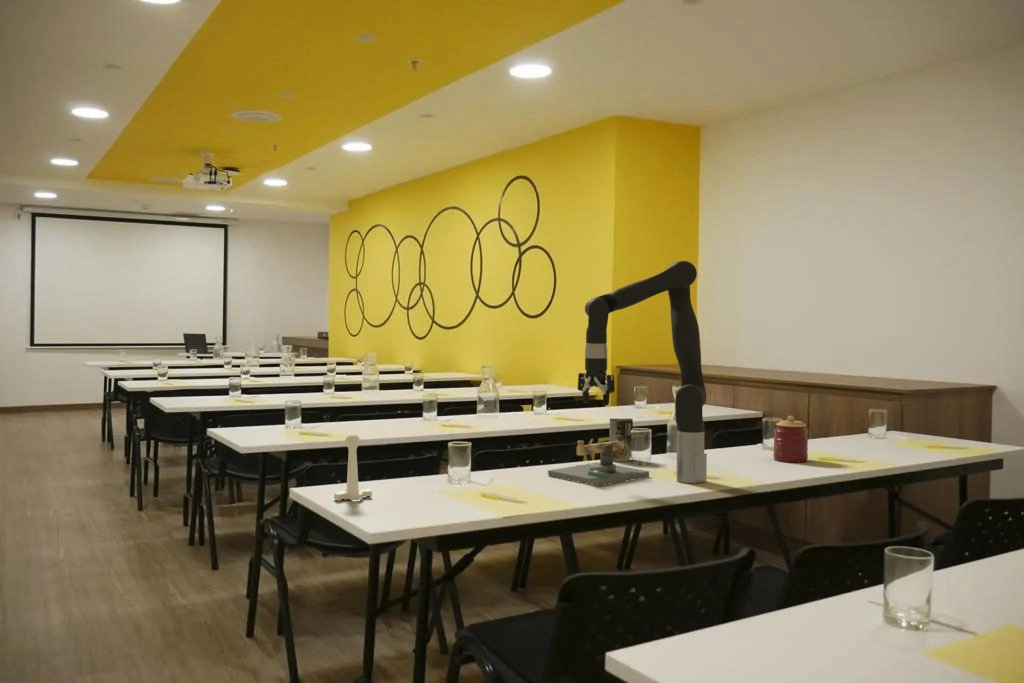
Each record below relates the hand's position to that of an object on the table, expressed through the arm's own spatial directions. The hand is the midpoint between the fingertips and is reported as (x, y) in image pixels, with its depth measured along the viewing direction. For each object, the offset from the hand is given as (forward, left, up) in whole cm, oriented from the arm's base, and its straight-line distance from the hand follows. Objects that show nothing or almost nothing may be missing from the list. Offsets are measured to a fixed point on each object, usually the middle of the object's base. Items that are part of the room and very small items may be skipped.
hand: (595, 404), depth 290 cm
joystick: (+27, +78, -27) cm, 87 cm away
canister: (-20, -90, -27) cm, 96 cm away
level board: (+5, -7, -26) cm, 28 cm away
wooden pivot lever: (+3, -6, -24) cm, 25 cm away
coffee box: (+23, -39, -27) cm, 53 cm away
